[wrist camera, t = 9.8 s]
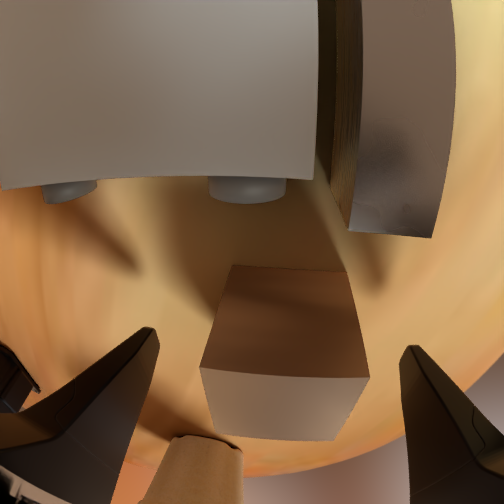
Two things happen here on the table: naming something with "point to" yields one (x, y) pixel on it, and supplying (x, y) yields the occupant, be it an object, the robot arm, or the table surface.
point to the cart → (158, 94)
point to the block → (284, 355)
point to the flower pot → (197, 474)
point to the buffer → (393, 113)
